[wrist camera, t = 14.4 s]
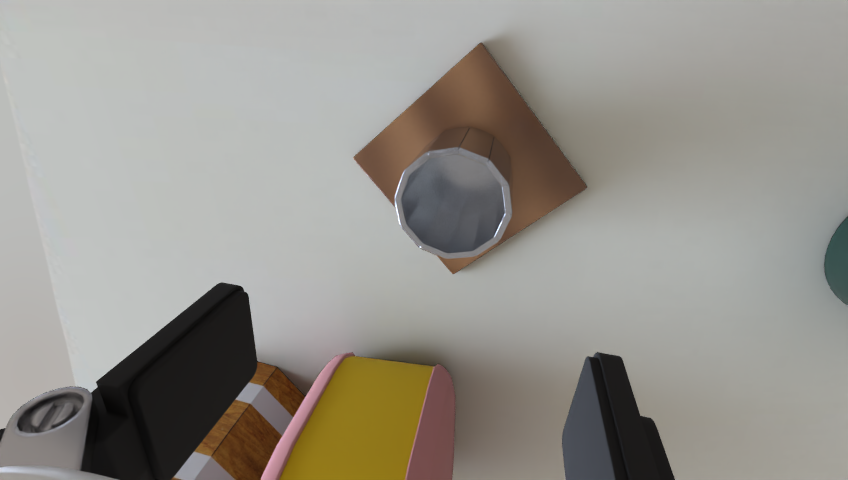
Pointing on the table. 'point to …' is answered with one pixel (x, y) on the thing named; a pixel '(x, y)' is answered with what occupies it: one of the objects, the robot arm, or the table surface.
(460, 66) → the coaster mat
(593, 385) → the robot arm
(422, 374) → the alarm clock
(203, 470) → the mug
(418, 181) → the cup
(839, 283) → the dark green cylinder
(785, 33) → the table surface
